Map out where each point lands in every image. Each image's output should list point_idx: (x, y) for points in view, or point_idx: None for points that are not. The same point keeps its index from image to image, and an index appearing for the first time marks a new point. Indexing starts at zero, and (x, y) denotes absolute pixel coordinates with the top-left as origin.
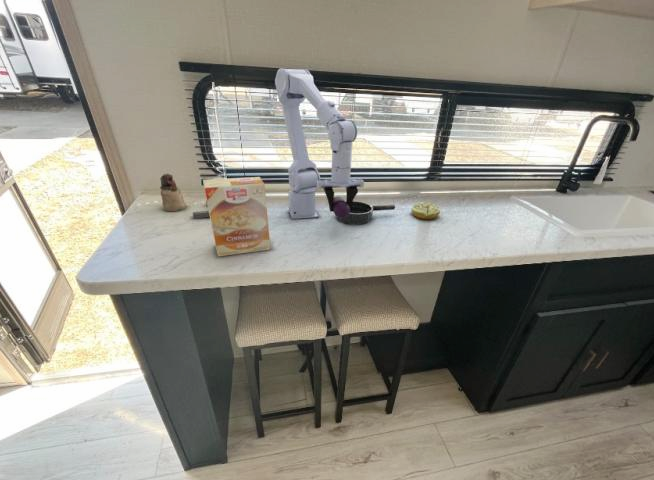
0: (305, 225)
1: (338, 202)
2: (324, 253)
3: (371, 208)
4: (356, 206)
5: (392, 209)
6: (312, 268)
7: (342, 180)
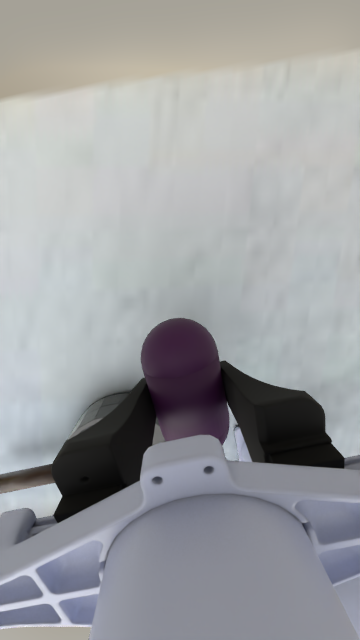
0: (274, 378)
1: (201, 382)
2: (237, 186)
3: None
4: None
5: (2, 474)
6: (289, 62)
7: (208, 558)
